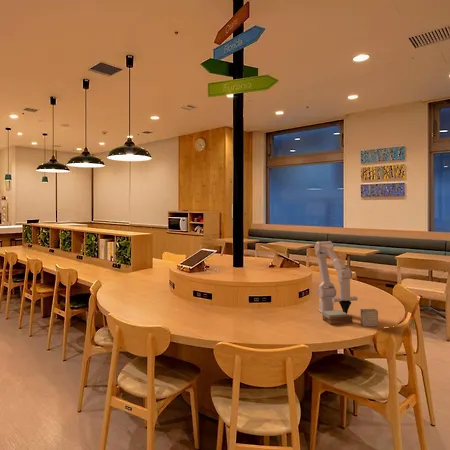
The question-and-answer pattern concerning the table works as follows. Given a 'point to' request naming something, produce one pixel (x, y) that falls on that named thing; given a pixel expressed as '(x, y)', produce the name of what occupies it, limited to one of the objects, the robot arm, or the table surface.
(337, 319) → the walnut box
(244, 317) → the table surface
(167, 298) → the table surface
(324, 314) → the cover plate
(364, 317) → the medicine box
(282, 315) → the table surface
